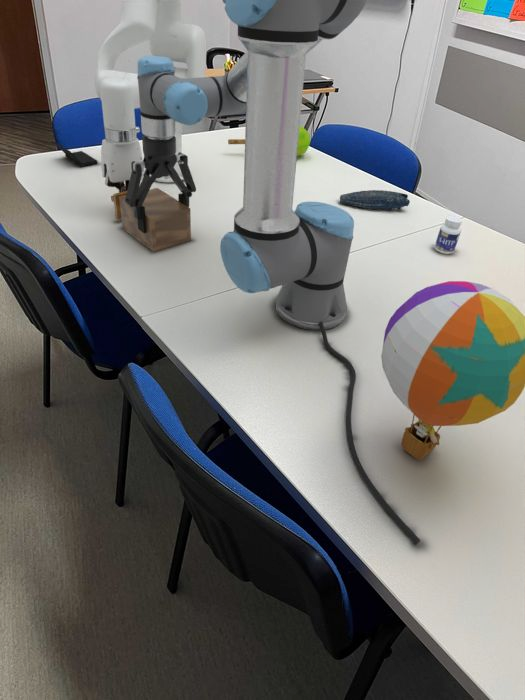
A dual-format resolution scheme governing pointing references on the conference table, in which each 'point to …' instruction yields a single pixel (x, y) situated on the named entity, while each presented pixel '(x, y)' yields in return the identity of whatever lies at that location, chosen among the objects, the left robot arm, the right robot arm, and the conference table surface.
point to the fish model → (376, 199)
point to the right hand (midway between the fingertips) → (163, 225)
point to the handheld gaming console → (78, 156)
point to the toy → (453, 358)
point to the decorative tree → (302, 141)
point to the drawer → (117, 203)
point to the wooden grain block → (158, 221)
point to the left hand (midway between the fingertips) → (126, 204)
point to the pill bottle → (448, 235)
